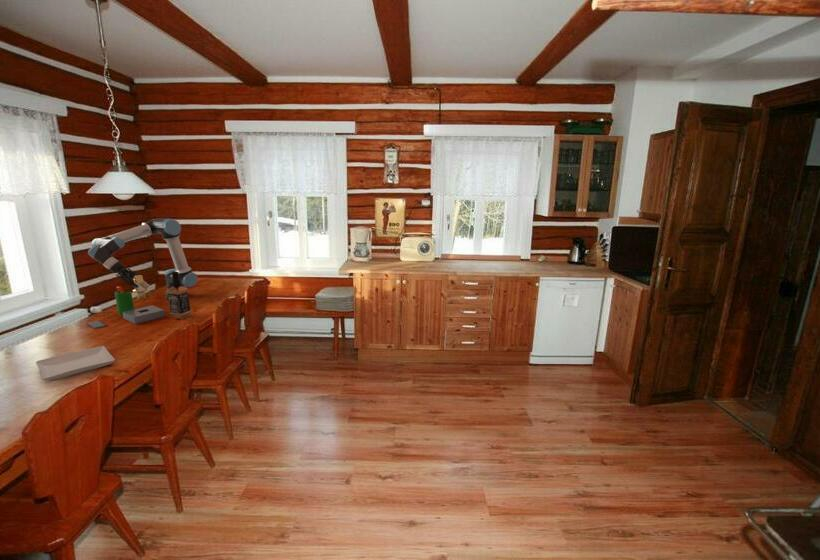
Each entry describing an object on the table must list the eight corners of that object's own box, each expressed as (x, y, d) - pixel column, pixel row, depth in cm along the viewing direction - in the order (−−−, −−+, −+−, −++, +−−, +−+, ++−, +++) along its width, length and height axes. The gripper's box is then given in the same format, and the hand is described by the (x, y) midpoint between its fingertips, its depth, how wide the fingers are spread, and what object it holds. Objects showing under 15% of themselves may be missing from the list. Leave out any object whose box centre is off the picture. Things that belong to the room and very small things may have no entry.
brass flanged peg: (145, 295, 262) (141, 274, 259) (150, 297, 258) (147, 275, 254) (131, 298, 256) (128, 276, 252) (137, 300, 251) (133, 278, 248)
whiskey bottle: (169, 318, 262) (162, 272, 254) (181, 314, 271) (175, 269, 264) (181, 320, 259) (174, 274, 251) (193, 315, 268) (187, 270, 261)
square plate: (116, 366, 195) (115, 359, 194) (43, 386, 176) (41, 378, 175) (104, 350, 213) (103, 344, 212) (36, 367, 193) (35, 360, 192)
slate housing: (153, 313, 273) (152, 305, 271) (165, 318, 263) (164, 310, 261) (124, 320, 258) (122, 311, 257) (135, 326, 248) (134, 317, 247)
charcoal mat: (112, 318, 262) (111, 317, 262) (120, 322, 254) (120, 321, 254) (86, 324, 251) (86, 323, 250) (94, 328, 243) (94, 327, 243)
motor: (138, 311, 276) (133, 284, 271) (128, 315, 267) (123, 287, 262) (125, 311, 277) (120, 284, 272) (114, 315, 268) (109, 287, 263)
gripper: (118, 266, 259) (148, 288, 266) (101, 273, 240) (134, 296, 247) (125, 258, 258) (156, 280, 265) (109, 264, 239) (142, 288, 246)
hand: (145, 288), depth 256 cm, fingers closed on brass flanged peg, 7 cm apart
